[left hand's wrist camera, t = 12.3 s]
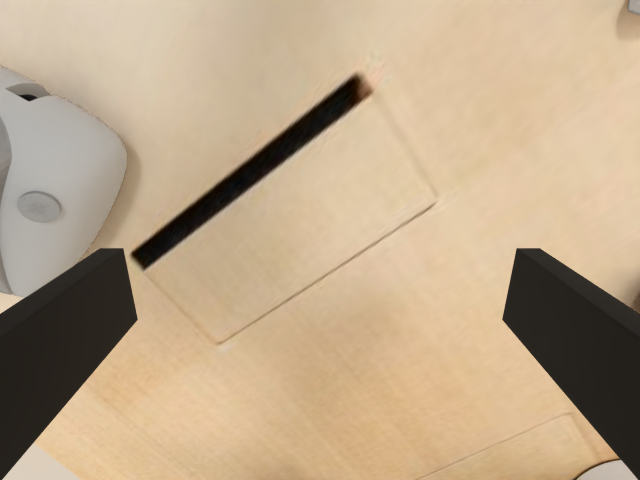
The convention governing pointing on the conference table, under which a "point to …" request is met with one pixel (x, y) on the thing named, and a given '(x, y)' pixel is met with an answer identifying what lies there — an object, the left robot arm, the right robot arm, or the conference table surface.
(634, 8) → the fish
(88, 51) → the conference table surface
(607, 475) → the right robot arm
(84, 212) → the projector
